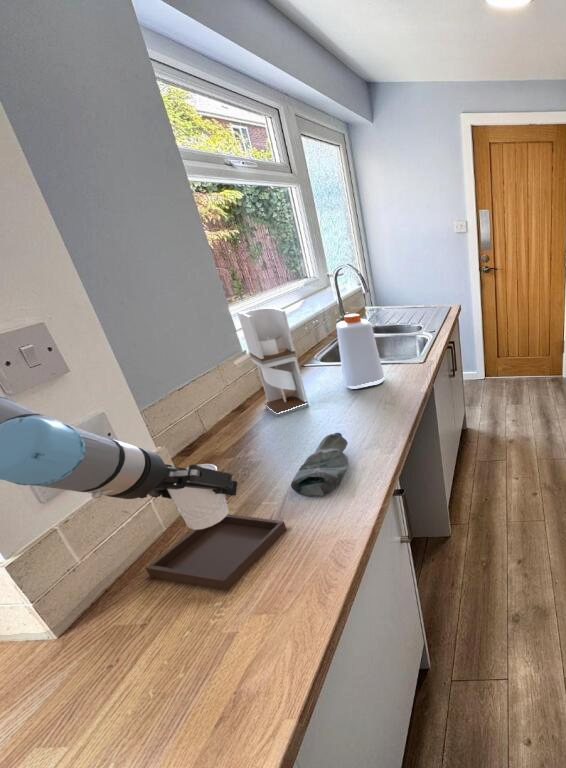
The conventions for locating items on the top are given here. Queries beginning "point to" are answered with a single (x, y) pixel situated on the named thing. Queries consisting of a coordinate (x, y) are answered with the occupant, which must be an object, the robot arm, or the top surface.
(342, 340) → the plastic bottle
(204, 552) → the serving tray
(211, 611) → the top surface
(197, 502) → the white cup
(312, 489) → the grey hollow crumpled part
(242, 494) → the top surface
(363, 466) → the top surface
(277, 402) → the white tiered shelf stand
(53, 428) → the robot arm
